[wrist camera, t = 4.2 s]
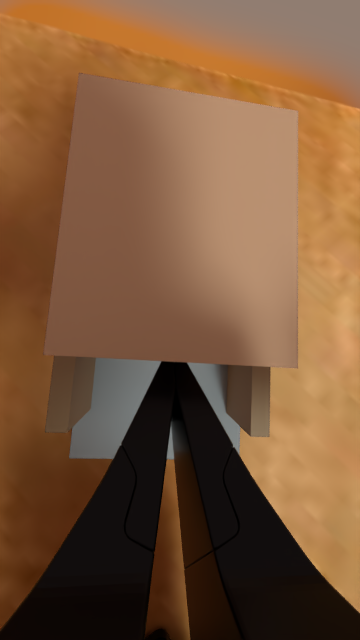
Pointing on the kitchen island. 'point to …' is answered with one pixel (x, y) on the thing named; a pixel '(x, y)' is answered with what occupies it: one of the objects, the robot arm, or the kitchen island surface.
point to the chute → (128, 392)
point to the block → (177, 229)
